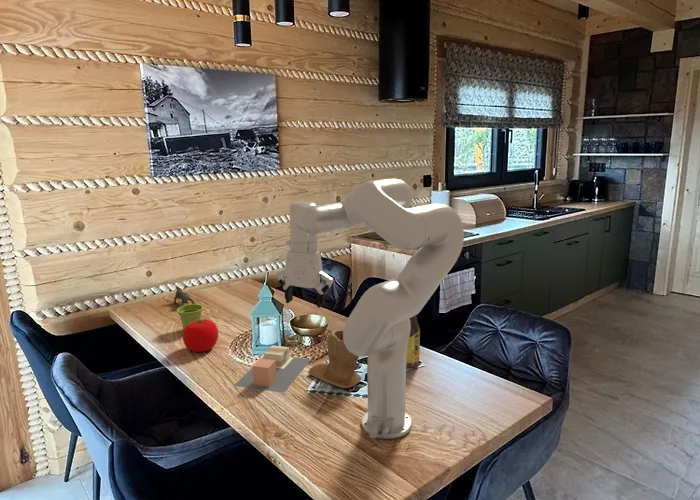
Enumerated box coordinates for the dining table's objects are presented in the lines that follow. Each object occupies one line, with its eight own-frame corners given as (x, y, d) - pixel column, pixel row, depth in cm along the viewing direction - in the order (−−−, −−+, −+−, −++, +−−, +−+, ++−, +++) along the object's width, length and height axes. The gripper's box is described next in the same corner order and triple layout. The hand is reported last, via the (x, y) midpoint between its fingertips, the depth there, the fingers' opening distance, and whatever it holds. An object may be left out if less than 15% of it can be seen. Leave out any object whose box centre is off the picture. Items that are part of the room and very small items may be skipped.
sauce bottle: (418, 369, 155) (419, 309, 150) (398, 368, 156) (399, 308, 152) (420, 360, 161) (421, 302, 157) (400, 358, 162) (401, 301, 158)
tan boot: (370, 379, 149) (370, 333, 146) (343, 395, 141) (343, 346, 137) (334, 364, 159) (333, 320, 156) (307, 378, 151) (305, 332, 147)
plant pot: (206, 332, 187) (204, 310, 185) (180, 336, 184) (177, 314, 182) (203, 323, 196) (201, 302, 194) (178, 327, 192) (176, 306, 190)
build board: (284, 396, 141) (284, 392, 140) (233, 388, 145) (233, 385, 145) (311, 362, 161) (311, 359, 161) (266, 356, 166) (266, 353, 165)
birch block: (282, 366, 156) (281, 355, 155) (264, 364, 158) (263, 353, 157) (289, 358, 161) (289, 347, 161) (272, 356, 163) (272, 345, 162)
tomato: (192, 359, 165) (189, 329, 162) (179, 348, 173) (176, 320, 171) (225, 349, 172) (223, 320, 170) (211, 338, 181) (209, 311, 178)
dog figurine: (171, 303, 220) (170, 287, 218) (184, 300, 224) (182, 284, 222) (183, 309, 211) (181, 293, 210) (196, 306, 215) (194, 290, 213)
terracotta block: (269, 386, 144) (268, 367, 142) (253, 384, 145) (252, 365, 144) (276, 378, 148) (275, 360, 147) (261, 376, 150) (260, 358, 148)
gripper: (269, 246, 137) (271, 304, 142) (328, 252, 132) (328, 312, 136) (281, 240, 144) (283, 295, 149) (337, 245, 139) (337, 303, 143)
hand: (304, 303), depth 142 cm, fingers open, 9 cm apart
